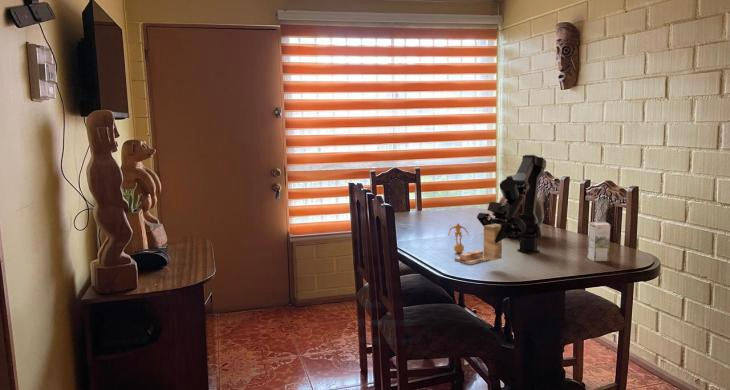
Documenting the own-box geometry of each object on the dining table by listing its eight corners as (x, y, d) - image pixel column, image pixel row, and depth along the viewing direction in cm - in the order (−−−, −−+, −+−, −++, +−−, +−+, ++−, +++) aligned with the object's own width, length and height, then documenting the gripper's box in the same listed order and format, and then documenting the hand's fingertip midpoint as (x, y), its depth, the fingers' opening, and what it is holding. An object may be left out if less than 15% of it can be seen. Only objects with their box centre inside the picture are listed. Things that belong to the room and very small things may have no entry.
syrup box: (601, 258, 209) (603, 221, 207) (609, 261, 203) (610, 223, 201) (587, 258, 209) (588, 221, 207) (594, 262, 203) (595, 224, 201)
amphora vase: (553, 238, 246) (555, 177, 243) (514, 242, 238) (515, 179, 235) (523, 230, 266) (524, 173, 262) (486, 233, 258) (487, 175, 255)
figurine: (449, 254, 219) (449, 225, 218) (447, 250, 225) (447, 222, 224) (470, 253, 219) (470, 224, 218) (467, 250, 225) (467, 222, 224)
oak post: (491, 256, 199) (491, 224, 197) (501, 258, 195) (501, 225, 193) (483, 258, 196) (483, 225, 194) (493, 260, 192) (493, 227, 191)
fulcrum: (475, 255, 216) (475, 248, 216) (491, 259, 210) (491, 251, 210) (454, 260, 209) (454, 253, 208) (470, 264, 203) (470, 256, 202)
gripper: (480, 191, 202) (459, 223, 197) (522, 195, 187) (501, 231, 182) (493, 209, 208) (474, 241, 203) (535, 215, 193) (515, 250, 188)
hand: (490, 240), depth 194 cm, fingers closed on oak post, 4 cm apart
